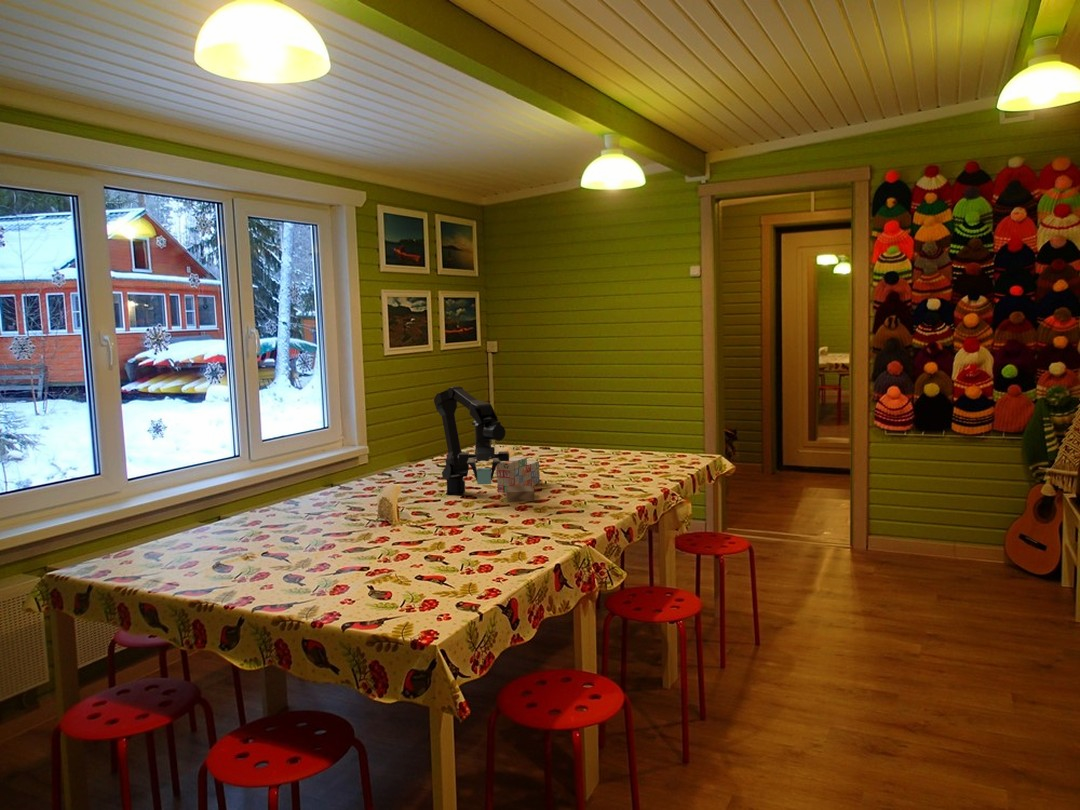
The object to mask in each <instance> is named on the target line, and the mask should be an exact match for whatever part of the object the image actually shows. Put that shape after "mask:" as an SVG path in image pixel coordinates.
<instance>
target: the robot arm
mask: <svg viewBox="0 0 1080 810" xmlns="http://www.w3.org/2000/svg"><path fill="white" fill-rule="evenodd" d="M433 402H434V405H435V409H436V412H437V413H438V414H439V415H440V416H441V419H442V426H443V430H444V436H445V441H446V447H447V453H448V454H447V456H446V458H445V466H444V469H442V472H441V477H442V479H444V480H446V495H451V496H452V495H453V496H454V495H464V493H465V492H466V480H465V479H464V478H465V477H466V478H468V475H469V474H468V473H469V469H470V468H471V469H472V472H473V474H474V475H473V476H474V478H475V480H476V481H477V469H478V468H477V462H489V461H490V460H492V462H491V481H493V478H494V475H495V470H496V469H497V464H499V463H500V462H501V461H509V458H510V452H509V451H508V450H507V451H506V450H505V451H502V450H501V451H498V453H496V452H495V450H496V447H495V446H492V440H493V441H497V442H500V441H502V440H503V439H504V438H505V437H506V429H505V427H504V426H503V425H502V424H501V421H500V420H499V418H498V416H497V414H496V412H495V409H494V408H493V406H492V404H491V403H489V402H486V401H484V400H479V399H477V398H476V397H474V396H473V395H471V394H470V393H469V392H468V391H467V390H464V388H463V387H462V386H451V387H448V389H446V390H443V391H441V392H438V393H437V394H435V396H434V398H433ZM458 403H459V404H460V405H462V406H463V407H464V408H465V409H467V410H468V411H469V415H470V416H471V417H472V419H473V420H474V421H472V422H471V425H472V426H474V438H475V439H474V441H475V445H474V446H475V448H474V454H470V452H467V451H466V452H463V451H462V448H461V444H460V437H459V432H458V427H457V421H456V416H455V415H456V411H457V408H458Z"/></svg>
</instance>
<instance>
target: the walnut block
mask: <svg viewBox="0 0 1080 810" xmlns="http://www.w3.org/2000/svg"><path fill="white" fill-rule="evenodd" d="M505 498H506V501H507V503H515V502H516V503H517V502H535V501H536V500H535V499H536V498H535V489H534V487H533V486H532V485H531V486H509V487H506V493H505Z"/></svg>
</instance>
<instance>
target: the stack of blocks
mask: <svg viewBox="0 0 1080 810" xmlns="http://www.w3.org/2000/svg"><path fill="white" fill-rule="evenodd" d="M496 478H497V480H496V481H497V483H496V484H497V493H500V494H501V493H502V494H503V493H504V494H506V487H509V486H531V485H532V487H533V486H536V485H539V484H540V481H541V479H540V462H539V461H538V460H530V459H529V460H528V457H526V456H525V457H522V456H511V457H509V461H501V462H500V463H499V464H497V466H496Z"/></svg>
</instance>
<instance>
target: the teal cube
mask: <svg viewBox="0 0 1080 810" xmlns="http://www.w3.org/2000/svg"><path fill="white" fill-rule="evenodd" d="M491 471H492V467H483V468H482V467H481V468H480V467H478V468H477V480H476V481H477V482H476V483H477V485H491V484H492V480H491Z"/></svg>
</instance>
